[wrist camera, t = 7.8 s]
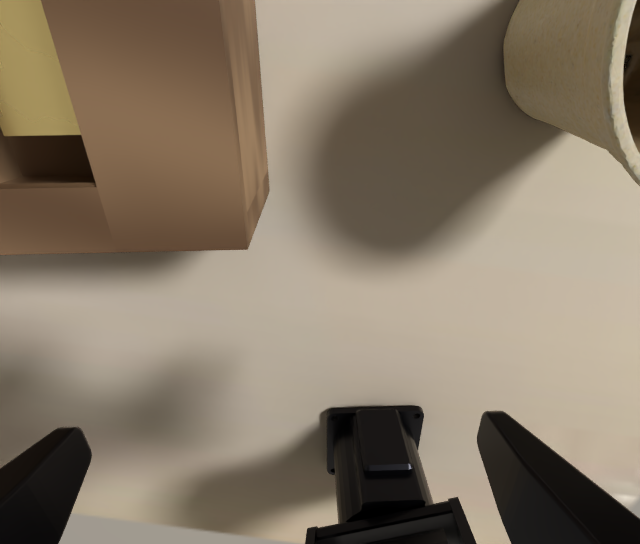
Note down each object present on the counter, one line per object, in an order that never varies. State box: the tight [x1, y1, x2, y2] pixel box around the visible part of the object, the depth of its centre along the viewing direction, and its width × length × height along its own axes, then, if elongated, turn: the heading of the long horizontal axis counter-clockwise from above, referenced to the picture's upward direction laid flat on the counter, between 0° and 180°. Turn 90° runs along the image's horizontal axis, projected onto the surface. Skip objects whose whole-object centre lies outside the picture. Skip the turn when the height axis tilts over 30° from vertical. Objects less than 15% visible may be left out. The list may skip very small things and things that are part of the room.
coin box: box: [0, 0, 269, 255], centre depth 11 cm, size 12×12×7 cm
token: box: [0, 0, 81, 136], centre depth 12 cm, size 6×2×5 cm, turn 1°
